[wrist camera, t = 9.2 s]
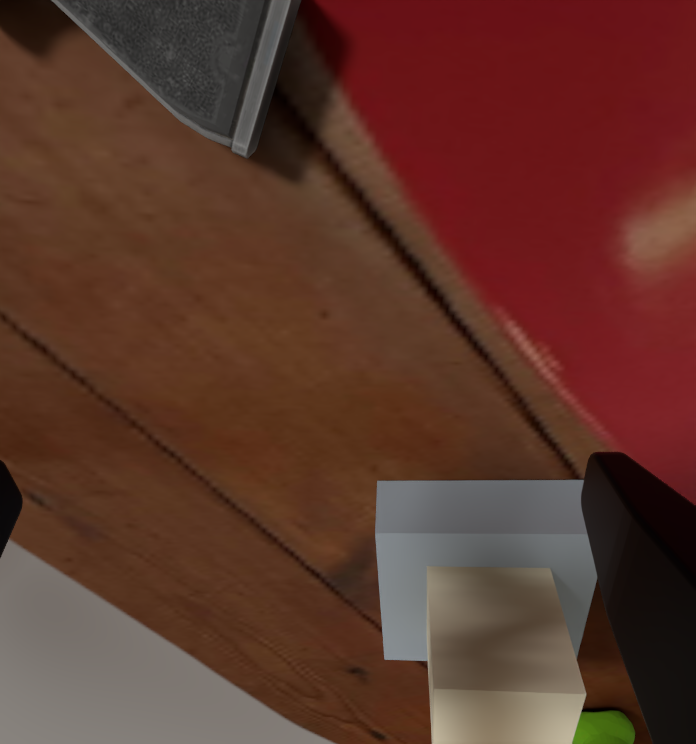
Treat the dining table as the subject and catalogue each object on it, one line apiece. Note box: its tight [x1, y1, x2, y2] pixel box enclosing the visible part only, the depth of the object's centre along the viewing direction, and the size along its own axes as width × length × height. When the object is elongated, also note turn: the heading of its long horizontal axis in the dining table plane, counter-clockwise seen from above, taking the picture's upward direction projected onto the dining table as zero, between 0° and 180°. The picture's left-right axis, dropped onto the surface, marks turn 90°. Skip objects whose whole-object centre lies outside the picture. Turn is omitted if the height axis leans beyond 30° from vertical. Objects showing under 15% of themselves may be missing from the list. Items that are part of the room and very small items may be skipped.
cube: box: [427, 566, 586, 744], centre depth 22 cm, size 5×5×5 cm
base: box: [375, 480, 597, 661], centre depth 25 cm, size 9×9×3 cm
